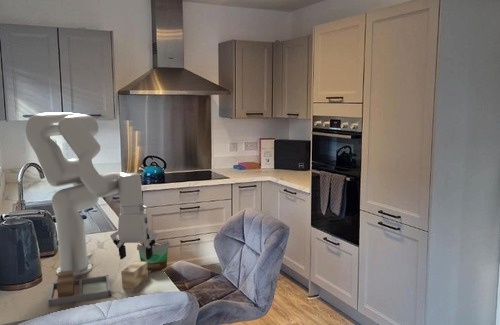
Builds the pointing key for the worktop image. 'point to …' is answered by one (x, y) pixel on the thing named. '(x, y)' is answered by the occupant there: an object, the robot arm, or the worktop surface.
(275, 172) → the worktop surface
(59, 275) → the walnut block
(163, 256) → the food container
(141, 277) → the pale oak block
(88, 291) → the slot organizer
